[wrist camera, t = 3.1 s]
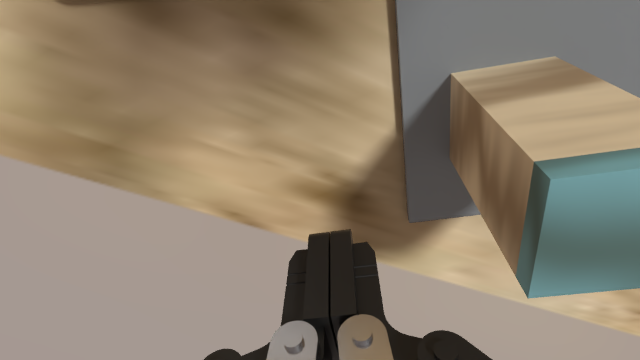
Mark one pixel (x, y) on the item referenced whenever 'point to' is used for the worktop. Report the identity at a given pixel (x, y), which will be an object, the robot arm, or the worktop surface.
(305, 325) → the robot arm
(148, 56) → the worktop surface
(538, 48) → the slate mat
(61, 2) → the worktop surface
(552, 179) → the maple block
